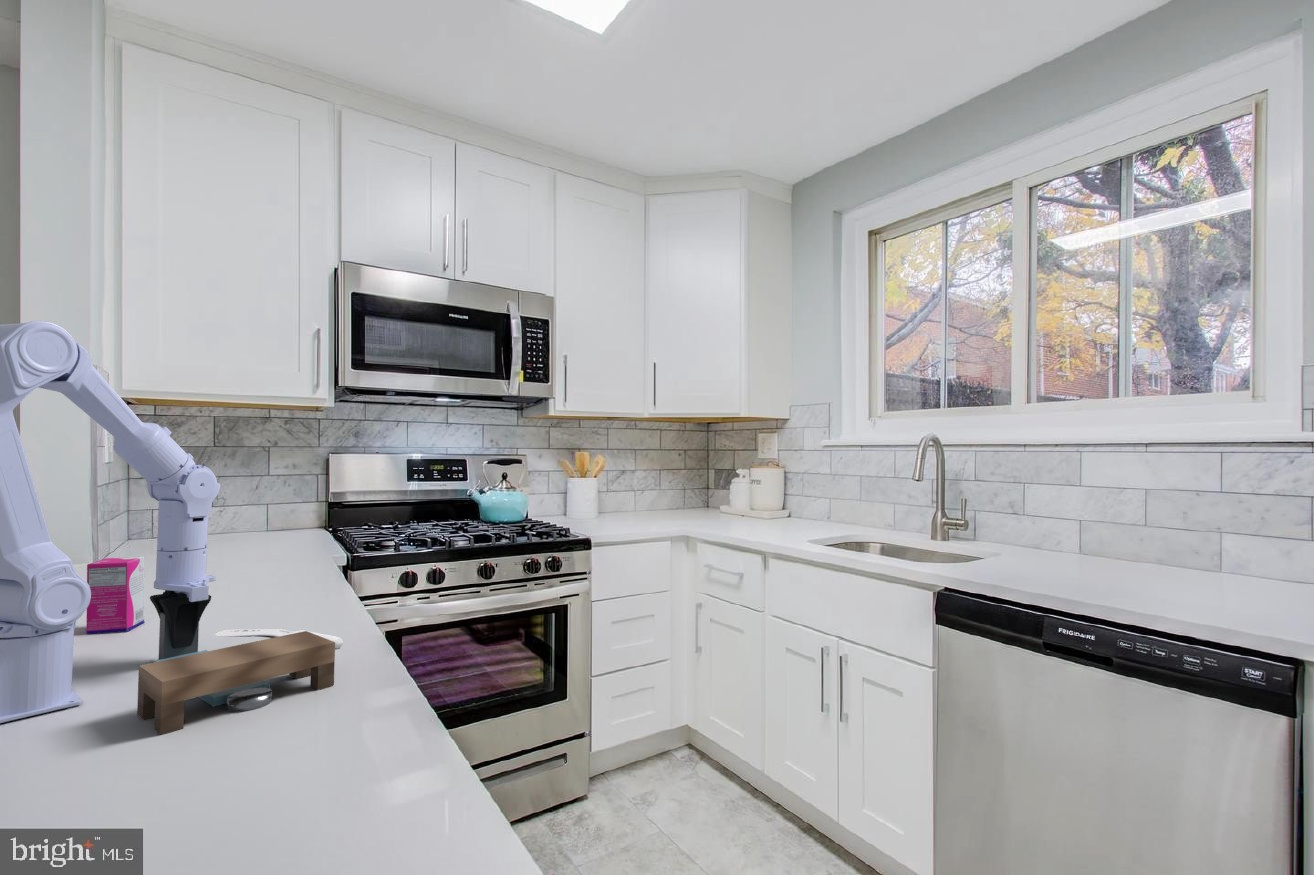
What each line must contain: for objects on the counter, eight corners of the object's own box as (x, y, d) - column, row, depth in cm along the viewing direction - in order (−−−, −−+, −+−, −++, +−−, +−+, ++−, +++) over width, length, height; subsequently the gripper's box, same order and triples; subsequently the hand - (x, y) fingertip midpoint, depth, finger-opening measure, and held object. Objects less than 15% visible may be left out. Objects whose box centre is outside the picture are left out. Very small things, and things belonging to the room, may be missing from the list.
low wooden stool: (160, 734, 65) (162, 682, 66) (137, 714, 70) (138, 665, 70) (333, 685, 80) (335, 642, 80) (304, 671, 85) (306, 630, 85)
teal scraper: (213, 706, 73) (215, 646, 73) (149, 664, 86) (151, 614, 86) (269, 691, 78) (271, 634, 78) (200, 654, 91) (202, 606, 91)
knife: (186, 627, 103) (236, 616, 110) (186, 637, 103) (236, 625, 110) (295, 651, 89) (345, 636, 95) (295, 662, 89) (345, 647, 95)
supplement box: (103, 625, 105) (105, 557, 106) (145, 622, 107) (147, 556, 107) (83, 634, 100) (86, 562, 100) (128, 632, 101) (130, 561, 102)
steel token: (244, 715, 71) (244, 704, 71) (217, 709, 72) (217, 698, 72) (280, 701, 75) (280, 691, 75) (254, 695, 77) (254, 685, 77)
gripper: (235, 550, 87) (231, 648, 87) (197, 540, 96) (193, 629, 96) (174, 556, 82) (170, 661, 81) (139, 545, 90) (135, 640, 90)
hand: (178, 645), depth 88 cm, fingers closed on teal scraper
